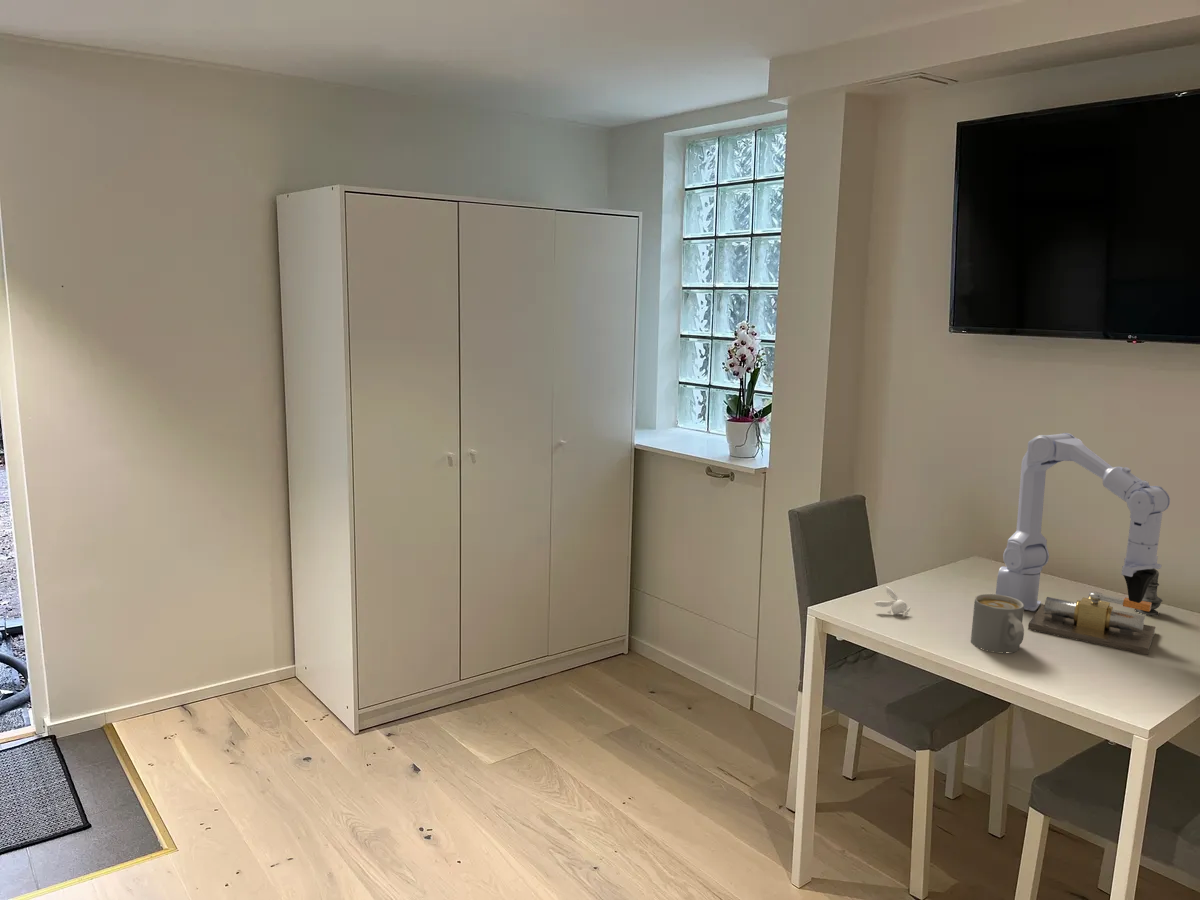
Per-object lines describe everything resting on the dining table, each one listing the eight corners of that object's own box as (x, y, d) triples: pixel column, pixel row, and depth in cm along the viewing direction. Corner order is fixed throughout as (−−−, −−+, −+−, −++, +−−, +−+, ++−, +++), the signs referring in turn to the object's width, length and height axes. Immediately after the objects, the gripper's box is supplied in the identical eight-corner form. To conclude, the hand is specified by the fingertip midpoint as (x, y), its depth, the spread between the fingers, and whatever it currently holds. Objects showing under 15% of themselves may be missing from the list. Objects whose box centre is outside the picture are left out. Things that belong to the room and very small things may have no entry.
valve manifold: (1028, 629, 213) (1031, 597, 212) (1041, 610, 226) (1045, 580, 225) (1147, 654, 200) (1151, 621, 198) (1154, 632, 213) (1159, 601, 211)
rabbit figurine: (902, 620, 218) (873, 599, 221) (898, 627, 221) (870, 606, 224) (916, 603, 220) (887, 583, 224) (912, 610, 223) (884, 590, 227)
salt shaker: (1164, 617, 223) (1171, 569, 221) (1138, 615, 224) (1144, 567, 222) (1155, 609, 229) (1161, 562, 226) (1129, 606, 230) (1135, 560, 228)
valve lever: (1087, 599, 211) (1087, 593, 211) (1089, 596, 214) (1090, 589, 213) (1149, 612, 204) (1149, 605, 204) (1151, 608, 206) (1151, 602, 206)
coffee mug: (963, 635, 209) (968, 593, 207) (1008, 636, 209) (1012, 594, 207) (987, 659, 196) (991, 614, 194) (1034, 660, 196) (1039, 615, 194)
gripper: (1150, 551, 193) (1142, 613, 196) (1175, 540, 202) (1167, 599, 205) (1114, 544, 198) (1107, 604, 201) (1140, 533, 208) (1133, 590, 210)
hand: (1135, 601), depth 203 cm, fingers closed
